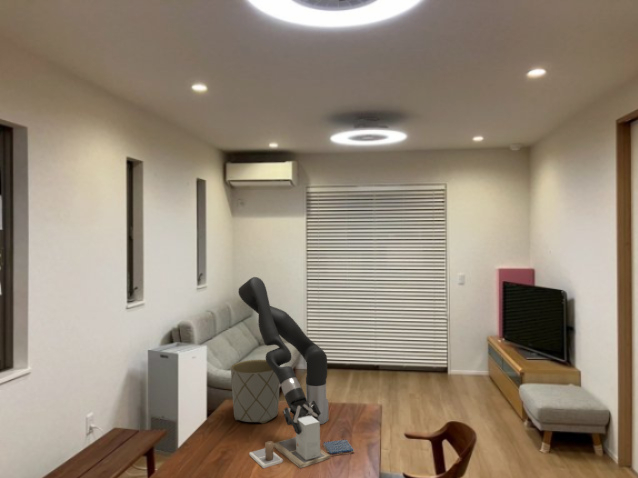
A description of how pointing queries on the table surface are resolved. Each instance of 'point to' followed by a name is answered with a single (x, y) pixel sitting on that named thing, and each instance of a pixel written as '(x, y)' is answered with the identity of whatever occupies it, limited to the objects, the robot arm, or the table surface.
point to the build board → (290, 452)
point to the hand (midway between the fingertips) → (309, 430)
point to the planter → (254, 391)
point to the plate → (266, 456)
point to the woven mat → (338, 447)
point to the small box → (308, 437)
